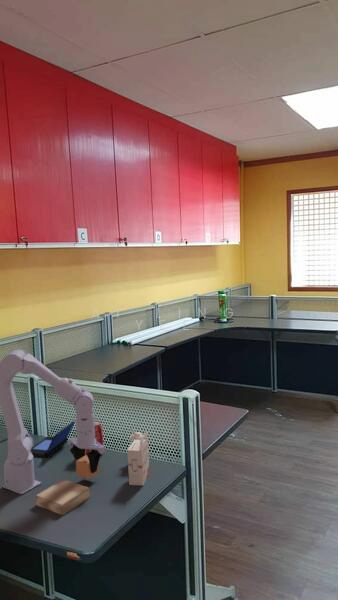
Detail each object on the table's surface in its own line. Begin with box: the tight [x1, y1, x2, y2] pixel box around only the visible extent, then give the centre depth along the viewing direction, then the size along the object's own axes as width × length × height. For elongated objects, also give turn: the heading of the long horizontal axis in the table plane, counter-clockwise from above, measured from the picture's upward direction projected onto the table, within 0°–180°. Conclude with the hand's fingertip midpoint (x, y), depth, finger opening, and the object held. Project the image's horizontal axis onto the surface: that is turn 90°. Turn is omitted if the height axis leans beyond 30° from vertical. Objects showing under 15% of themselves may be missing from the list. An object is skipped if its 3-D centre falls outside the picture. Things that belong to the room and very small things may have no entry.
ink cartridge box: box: [126, 431, 150, 487], centre depth 149 cm, size 9×5×15 cm, turn 168°
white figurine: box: [129, 428, 144, 443], centre depth 161 cm, size 9×4×12 cm, turn 36°
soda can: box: [85, 419, 104, 455], centre depth 169 cm, size 7×7×12 cm
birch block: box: [35, 479, 90, 516], centre depth 137 cm, size 11×11×4 cm
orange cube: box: [75, 455, 99, 480], centre depth 149 cm, size 5×5×5 cm
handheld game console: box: [31, 420, 76, 459], centre depth 176 cm, size 16×13×9 cm
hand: (87, 469), depth 149 cm, fingers closed on orange cube, 5 cm apart
